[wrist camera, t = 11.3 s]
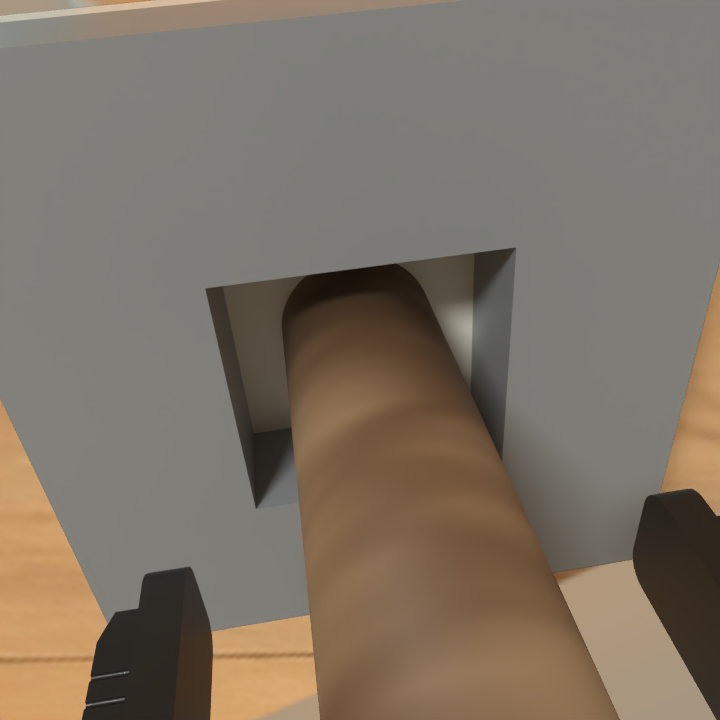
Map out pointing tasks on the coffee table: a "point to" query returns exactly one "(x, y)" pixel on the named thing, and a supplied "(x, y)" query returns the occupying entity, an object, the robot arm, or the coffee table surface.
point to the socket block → (346, 255)
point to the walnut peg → (416, 524)
